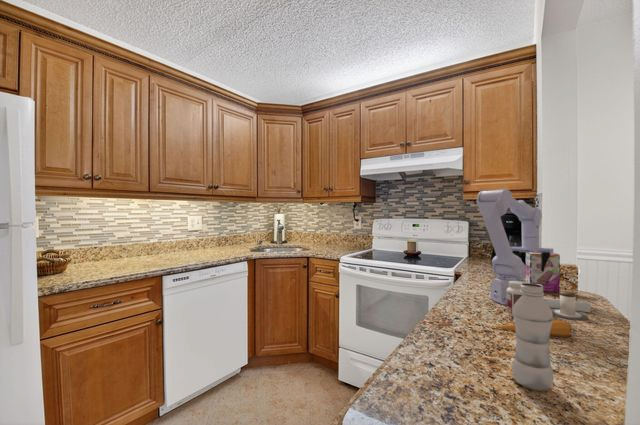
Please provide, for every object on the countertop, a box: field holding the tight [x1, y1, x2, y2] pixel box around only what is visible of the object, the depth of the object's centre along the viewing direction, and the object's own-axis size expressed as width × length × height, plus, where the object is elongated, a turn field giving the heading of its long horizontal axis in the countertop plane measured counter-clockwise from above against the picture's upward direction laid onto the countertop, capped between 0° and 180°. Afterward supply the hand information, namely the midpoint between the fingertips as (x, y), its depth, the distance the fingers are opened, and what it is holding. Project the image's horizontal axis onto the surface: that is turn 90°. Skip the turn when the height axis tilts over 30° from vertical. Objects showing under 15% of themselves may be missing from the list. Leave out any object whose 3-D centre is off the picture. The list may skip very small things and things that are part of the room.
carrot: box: [495, 319, 573, 338], centre depth 84 cm, size 20×4×4 cm, turn 71°
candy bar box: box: [525, 252, 561, 293], centre depth 126 cm, size 11×5×16 cm, turn 77°
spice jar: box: [559, 290, 577, 316], centre depth 97 cm, size 4×4×7 cm
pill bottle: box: [506, 280, 526, 317], centre depth 97 cm, size 6×6×11 cm
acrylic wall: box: [542, 297, 591, 313], centre depth 103 cm, size 1×14×3 cm, turn 60°
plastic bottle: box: [512, 282, 554, 392], centre depth 58 cm, size 6×7×20 cm
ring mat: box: [550, 308, 589, 321], centre depth 97 cm, size 10×10×1 cm
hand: (530, 270), depth 119 cm, fingers open, 7 cm apart
